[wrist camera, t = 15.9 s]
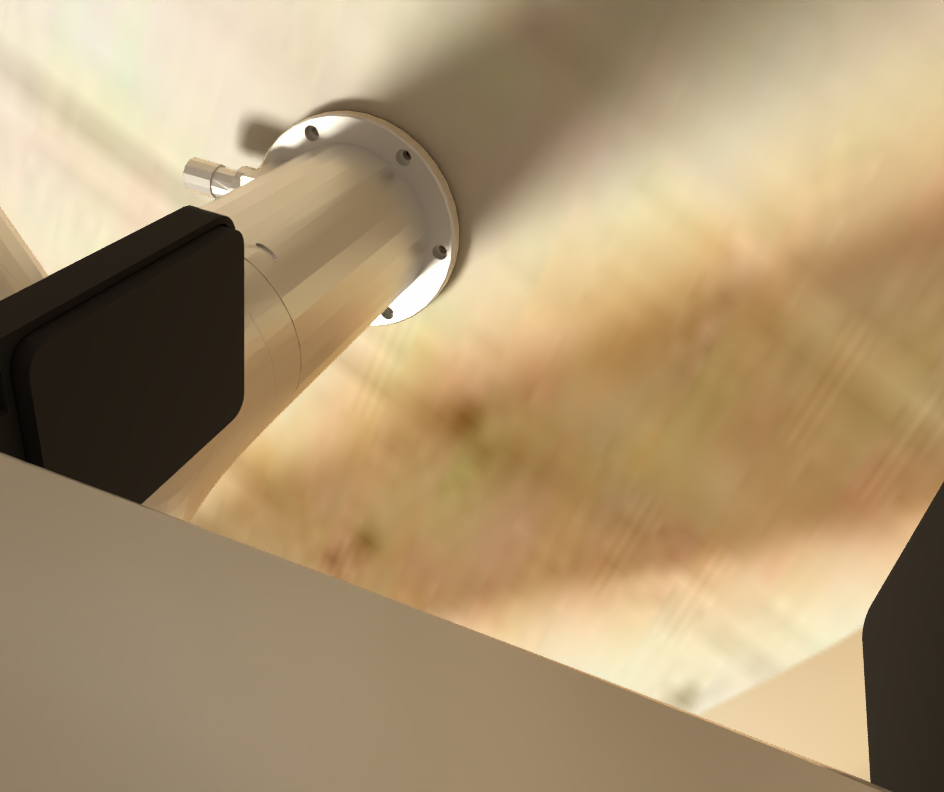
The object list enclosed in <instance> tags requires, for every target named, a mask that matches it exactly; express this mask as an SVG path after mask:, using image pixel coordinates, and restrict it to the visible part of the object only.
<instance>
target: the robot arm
mask: <svg viewBox="0 0 944 792" xmlns="http://www.w3.org/2000/svg"><path fill="white" fill-rule="evenodd" d="M316 128H317V130H318V132H317V131H316ZM406 151H408V152H409V154H410V155H411V158H409V157H408V156H407V155H406ZM183 183H184V186H185V188H186V189H187V190H189V191H192V192H195V193H199V194H202V195H205V196H209V197H212V198H217V199H215V200H213V201H211V202H209V203H207V204H206V205H204V206H202V207H200V208H197V207H194V206H190V205H189V206H185V207H183V208H181V209H179V210H177V211H175V212H173V213H171V214H169V215H167V216H165V217H163V218H161V219H159V220H157V221H155V222H153V223H151V224H149V225H147V226H145V227H143V228H142V229H140V230H138V231H136V232H134V233H132V234H130V235H128V236H126V237H124V238H122V239H120V240H118V241H116V242H114V243H112V244H110V245H108V246H106V247H104V248H102V249H100V250H98V251H97V252H95V253H93V254H91V255H89V256H87V257H85V258H83V259H81V260H79V261H77V262H75V263H73V264H71V265H69V266H67V267H65V268H63V269H61V270H59V271H57V272H55V273H53V274H52V275H50V276H48V275H47V273H46V272H45V270H44V269H43V267H42V266H41V265H40V263H39V262H38V260H37V259H36V257H35V256H34V255H33V253H32V252H31V250H30V249H29V247H28V246H27V245H26V243H25V242H24V240H23V239H22V237H21V236H20V235H19V233H18V232H17V230H16V229H15V227H14V226H13V225H12V223H11V222H10V220H9V219H8V217H7V216H6V214H5V213H4V212H3V210H2V209H1V207H0V792H944V482H943V484H942V485H941V487H940V489H939V490H938V492H937V494H936V496H935V497H934V499H933V501H932V502H931V504H930V506H929V508H928V509H927V511H926V513H925V514H924V516H923V518H922V519H921V521H920V523H919V525H918V526H917V528H916V530H915V531H914V533H913V535H912V536H911V538H910V540H909V542H908V543H907V545H906V547H905V548H904V550H903V552H902V553H901V555H900V557H899V559H898V560H897V562H896V564H895V565H894V567H893V569H892V570H891V572H890V574H889V576H888V577H887V579H886V581H885V582H884V584H883V586H882V587H881V589H880V591H879V593H878V594H877V596H876V598H875V599H874V601H873V603H872V604H871V606H870V608H869V610H868V613H867V615H866V618H865V622H864V626H863V632H862V642H863V658H864V676H865V693H866V711H867V728H868V745H869V762H870V779H871V783H870V782H867V781H865V780H862V779H860V778H858V777H855V776H853V775H850V774H848V773H845V772H843V771H840V770H837V769H835V768H832V767H830V766H827V765H824V764H822V763H819V762H816V761H814V760H811V759H809V758H806V757H803V756H801V755H798V754H796V753H793V752H790V751H788V750H785V749H783V748H780V747H777V746H775V745H772V744H769V743H767V742H764V741H762V740H759V739H757V738H754V737H751V736H749V735H746V734H744V733H741V732H738V731H736V730H733V729H730V728H728V727H725V726H723V725H720V724H718V723H715V722H712V721H710V720H707V719H705V718H702V717H699V716H697V715H694V714H692V713H689V712H686V711H684V710H681V709H679V708H676V707H673V706H671V705H668V704H666V703H663V702H660V701H658V700H655V699H653V698H650V697H647V696H645V695H642V694H640V693H637V692H634V691H632V690H629V689H627V688H624V687H621V686H619V685H616V684H614V683H611V682H608V681H606V680H603V679H601V678H598V677H595V676H593V675H590V674H587V673H585V672H582V671H580V670H577V669H574V668H572V667H569V666H566V665H564V664H561V663H558V662H556V661H553V660H550V659H548V658H545V657H543V656H540V655H537V654H535V653H532V652H529V651H527V650H524V649H521V648H519V647H516V646H513V645H511V644H508V643H506V642H503V641H500V640H498V639H495V638H492V637H490V636H487V635H484V634H482V633H479V632H476V631H474V630H471V629H469V628H466V627H463V626H461V625H458V624H455V623H453V622H450V621H447V620H445V619H442V618H439V617H437V616H434V615H432V614H429V613H426V612H424V611H421V610H418V609H416V608H413V607H410V606H408V605H405V604H402V603H400V602H397V601H395V600H392V599H389V598H387V597H384V596H381V595H379V594H376V593H373V592H371V591H368V590H366V589H363V588H360V587H358V586H355V585H352V584H350V583H347V582H344V581H342V580H339V579H336V578H334V577H331V576H328V575H326V574H323V573H321V572H318V571H315V570H313V569H310V568H307V567H305V566H302V565H299V564H297V563H294V562H292V561H289V560H286V559H284V558H281V557H278V556H276V555H273V554H270V553H268V552H265V551H263V550H260V549H257V548H255V547H252V546H249V545H247V544H244V543H241V542H239V541H236V540H234V539H231V538H228V537H226V536H223V535H220V534H218V533H215V532H212V531H210V530H207V529H205V528H202V527H199V526H197V525H194V524H191V523H190V521H191V520H192V518H193V516H194V515H195V513H196V511H197V510H198V509H199V507H200V506H201V504H202V503H203V501H204V500H205V498H206V497H207V495H208V494H209V492H210V491H211V490H212V488H213V487H214V486H215V484H216V483H217V482H218V480H219V479H220V478H221V476H222V475H223V474H224V473H225V472H226V471H227V469H228V468H229V467H230V466H231V465H232V464H233V462H234V461H235V460H236V459H237V458H238V457H239V456H240V454H241V453H242V452H243V451H244V450H245V449H246V448H247V447H248V446H249V445H250V444H251V443H252V442H253V441H254V440H255V439H256V438H257V437H258V436H259V435H260V434H261V432H262V431H263V430H264V429H265V428H266V427H267V426H268V425H269V424H270V423H271V422H272V421H273V420H274V419H275V418H276V417H277V416H278V415H279V414H280V413H281V412H282V411H284V410H285V409H286V408H287V407H288V406H289V405H290V404H291V403H292V402H293V401H294V400H295V399H296V398H297V397H298V396H299V395H300V394H301V393H302V392H303V391H304V390H305V389H306V388H307V387H308V386H309V385H310V384H311V383H312V382H313V381H314V380H315V379H316V378H317V377H318V376H319V375H320V374H321V373H322V372H323V371H324V370H325V369H326V368H327V367H328V366H329V365H330V364H331V363H332V362H333V361H334V360H335V359H336V358H337V357H338V356H339V355H340V354H341V353H342V352H343V351H344V350H345V349H346V348H347V347H348V346H349V345H350V344H351V343H352V342H353V341H354V340H355V339H356V338H357V337H358V336H359V335H361V334H362V333H363V332H364V331H365V330H366V329H367V328H368V327H369V326H383V325H389V324H394V323H398V322H401V321H403V320H406V319H408V318H411V317H413V316H414V315H416V314H417V313H419V312H420V311H422V310H423V309H425V308H426V307H427V306H428V305H429V304H430V303H431V302H432V301H433V300H434V299H435V298H436V297H437V296H438V295H439V293H440V292H441V290H442V289H443V288H444V286H445V285H446V283H447V282H448V280H449V278H450V276H451V273H452V271H453V269H454V266H455V263H456V258H457V253H458V248H459V222H458V216H457V211H456V205H455V202H454V199H453V197H452V194H451V191H450V189H449V186H448V183H447V182H446V180H445V178H444V176H443V175H442V173H441V171H440V169H439V168H438V166H437V164H436V163H435V162H434V161H433V159H432V158H431V157H430V156H429V154H428V153H427V152H426V151H425V150H424V148H423V147H422V146H421V145H420V144H418V143H417V142H416V141H415V140H414V139H413V138H412V137H410V136H409V135H408V134H407V133H406V132H404V131H403V130H401V129H399V128H398V127H396V126H394V125H393V124H391V123H389V122H388V121H386V120H383V119H380V118H378V117H375V116H372V115H369V114H367V113H361V112H354V111H348V110H343V111H328V112H324V113H321V114H317V115H314V116H311V117H308V118H306V119H304V120H302V121H300V122H298V123H296V124H294V125H293V126H291V127H290V128H289V129H288V130H286V131H285V132H284V133H282V134H281V135H280V136H279V137H278V138H277V140H276V141H275V142H274V143H273V145H272V146H271V147H270V148H269V150H268V152H267V154H266V156H265V158H264V160H263V162H262V164H261V166H260V167H259V168H257V169H255V168H251V167H248V166H244V167H241V168H240V169H239V170H238V171H236V170H233V169H229V168H226V167H225V166H223V165H220V164H217V163H213V162H210V161H206V160H203V159H199V158H196V157H194V158H192V159H190V160H189V161H188V163H187V164H186V166H185V169H184V172H183ZM442 246H443V247H445V249H446V250H447V251H445V250H443V248H442Z"/></svg>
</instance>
